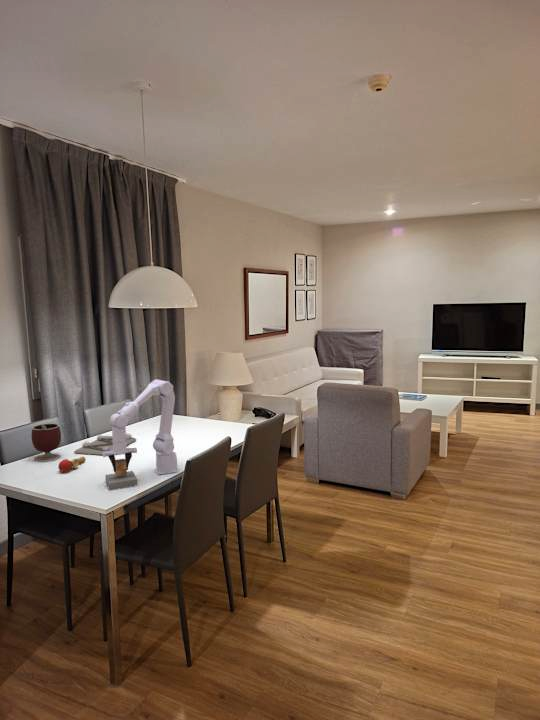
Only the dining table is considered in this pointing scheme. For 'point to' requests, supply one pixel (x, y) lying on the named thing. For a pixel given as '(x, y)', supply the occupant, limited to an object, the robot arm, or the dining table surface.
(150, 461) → the dining table surface
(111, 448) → the grey piece
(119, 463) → the walnut block
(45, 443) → the mate gourd
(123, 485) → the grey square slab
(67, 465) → the kendama
